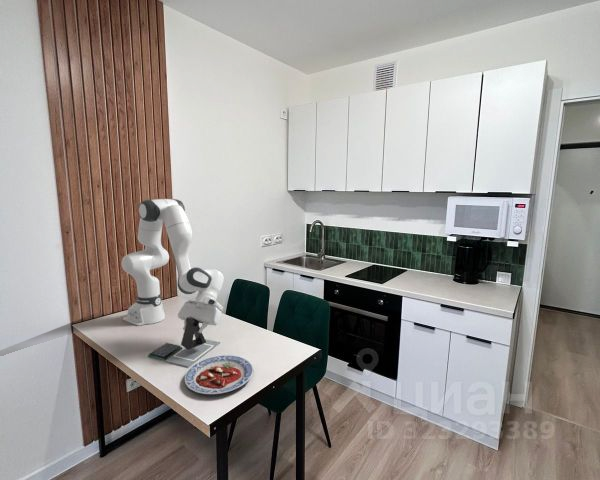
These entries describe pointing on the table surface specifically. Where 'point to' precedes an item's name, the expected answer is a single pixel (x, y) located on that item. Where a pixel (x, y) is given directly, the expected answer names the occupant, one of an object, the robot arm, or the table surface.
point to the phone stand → (192, 334)
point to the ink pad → (165, 351)
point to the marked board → (192, 354)
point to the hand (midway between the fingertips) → (191, 331)
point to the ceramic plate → (218, 374)
